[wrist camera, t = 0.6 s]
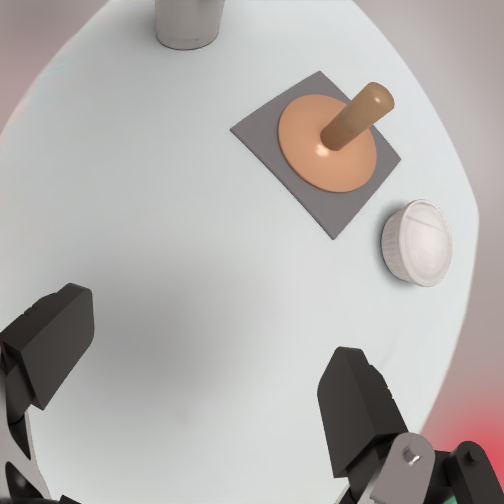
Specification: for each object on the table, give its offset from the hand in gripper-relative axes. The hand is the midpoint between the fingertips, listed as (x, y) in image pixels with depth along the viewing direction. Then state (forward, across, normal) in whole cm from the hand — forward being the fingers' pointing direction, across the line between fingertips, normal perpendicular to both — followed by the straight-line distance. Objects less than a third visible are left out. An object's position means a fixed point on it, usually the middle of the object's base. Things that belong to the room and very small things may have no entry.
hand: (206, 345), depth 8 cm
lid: (+30, -9, -10) cm, 33 cm away
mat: (+30, -9, -10) cm, 33 cm away
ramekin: (+28, -23, 0) cm, 36 cm away
